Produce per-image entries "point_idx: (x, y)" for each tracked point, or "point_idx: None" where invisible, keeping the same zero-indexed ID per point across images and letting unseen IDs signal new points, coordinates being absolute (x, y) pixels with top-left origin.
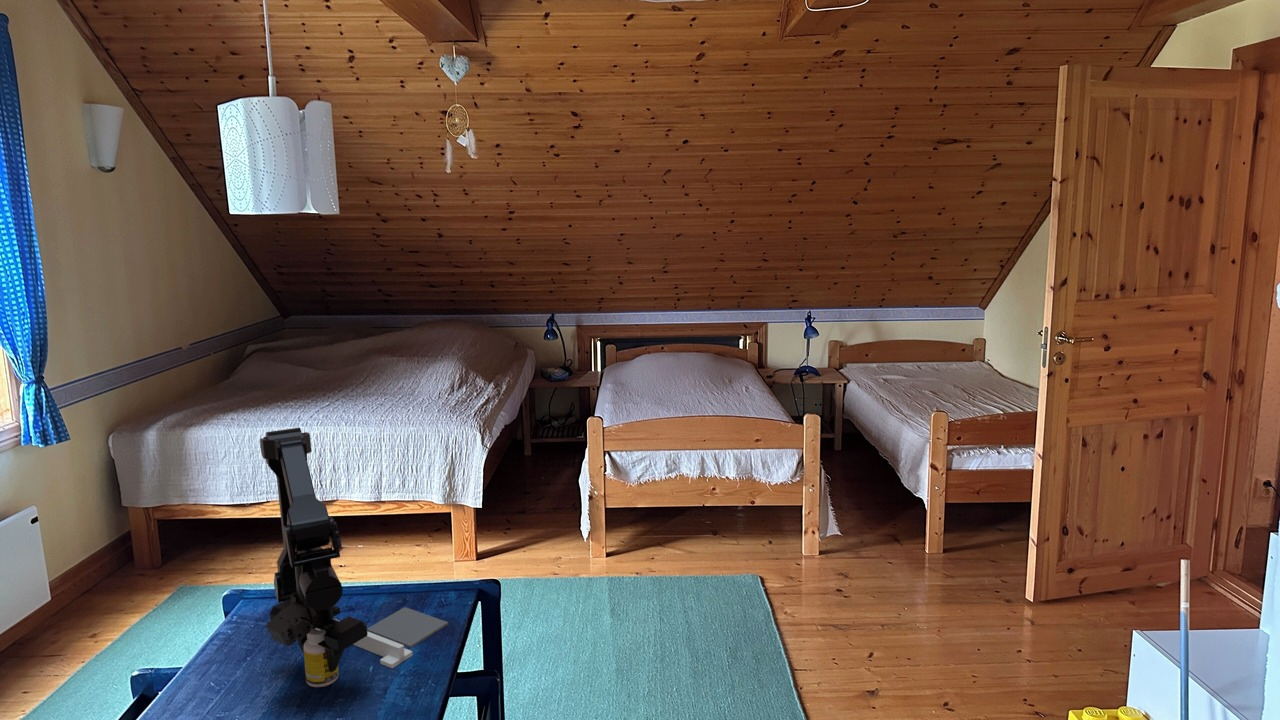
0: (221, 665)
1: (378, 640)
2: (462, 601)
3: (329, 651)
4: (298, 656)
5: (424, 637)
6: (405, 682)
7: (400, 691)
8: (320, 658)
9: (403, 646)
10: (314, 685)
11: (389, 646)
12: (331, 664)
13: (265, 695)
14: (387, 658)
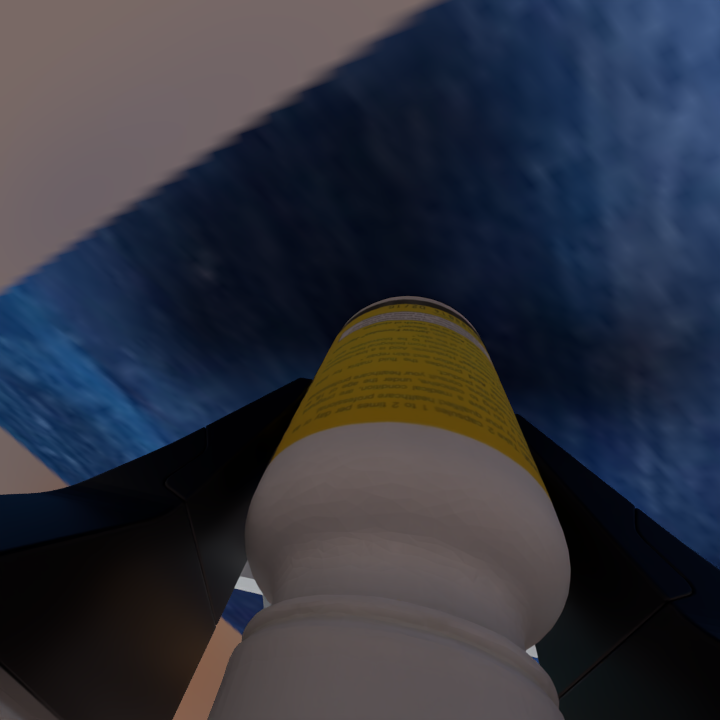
0: None
1: None
2: None
3: (115, 481)
4: (657, 466)
5: (263, 601)
6: (117, 438)
7: (80, 396)
8: (303, 415)
9: None
10: (386, 299)
11: (245, 568)
12: (253, 403)
13: (665, 90)
14: None
